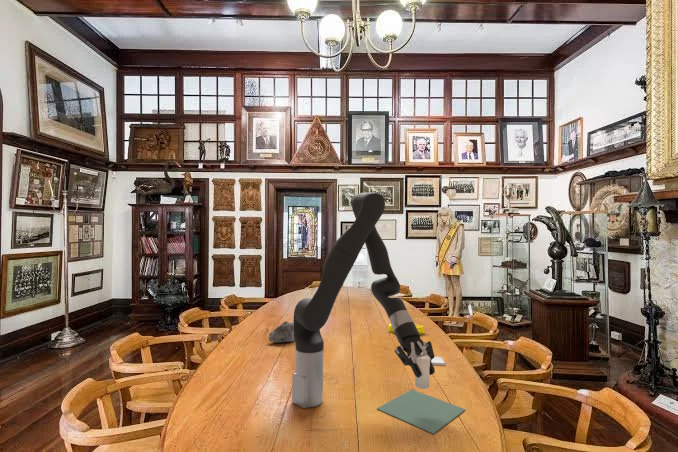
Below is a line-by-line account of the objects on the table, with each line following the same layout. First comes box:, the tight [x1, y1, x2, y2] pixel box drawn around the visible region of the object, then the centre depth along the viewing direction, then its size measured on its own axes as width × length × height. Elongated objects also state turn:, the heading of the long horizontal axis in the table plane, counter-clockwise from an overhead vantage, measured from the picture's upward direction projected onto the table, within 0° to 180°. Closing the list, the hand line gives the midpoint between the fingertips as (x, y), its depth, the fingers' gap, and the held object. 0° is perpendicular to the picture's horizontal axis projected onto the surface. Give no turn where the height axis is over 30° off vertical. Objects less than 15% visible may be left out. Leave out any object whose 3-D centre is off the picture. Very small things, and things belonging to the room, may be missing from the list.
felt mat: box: [376, 389, 466, 435], centre depth 119 cm, size 20×20×1 cm
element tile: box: [388, 322, 425, 335], centre depth 207 cm, size 15×15×5 cm
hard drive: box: [431, 356, 446, 366], centre depth 162 cm, size 2×8×12 cm
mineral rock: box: [268, 320, 295, 343], centre depth 186 cm, size 13×11×10 cm
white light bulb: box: [414, 355, 431, 390], centre depth 119 cm, size 4×4×9 cm
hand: (426, 374), depth 117 cm, fingers closed on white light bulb, 4 cm apart
